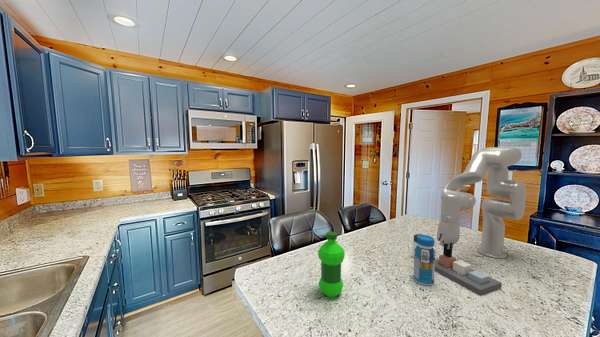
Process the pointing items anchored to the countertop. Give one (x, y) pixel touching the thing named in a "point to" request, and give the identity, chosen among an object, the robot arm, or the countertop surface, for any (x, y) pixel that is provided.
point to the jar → (414, 244)
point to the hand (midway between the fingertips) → (447, 255)
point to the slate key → (478, 277)
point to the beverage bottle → (424, 260)
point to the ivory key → (461, 267)
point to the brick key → (446, 261)
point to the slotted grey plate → (468, 280)
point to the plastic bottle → (331, 266)
